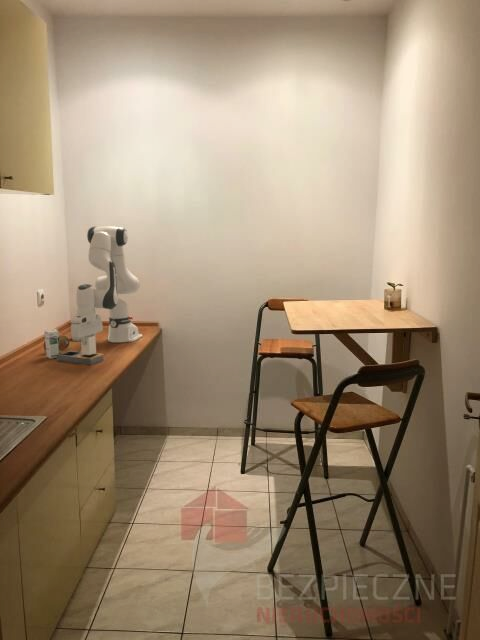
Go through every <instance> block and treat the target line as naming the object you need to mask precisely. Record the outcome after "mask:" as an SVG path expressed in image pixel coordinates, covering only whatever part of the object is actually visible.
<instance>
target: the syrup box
mask: <svg viewBox="0 0 480 640" xmlns="http://www.w3.org/2000/svg"><path fill="white" fill-rule="evenodd" d="M43 332H44V342H45V343H46V351H45V352H46V357H47V358H48V359H57V355H58V354H61V353H62V351H60V341H59V336H60V331H59V330H58V329H47V330H44V331H43Z"/></svg>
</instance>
